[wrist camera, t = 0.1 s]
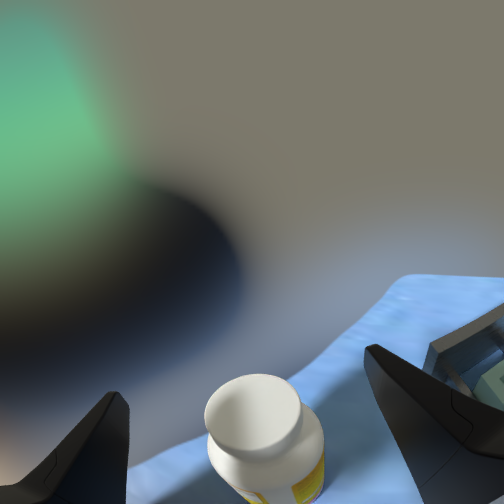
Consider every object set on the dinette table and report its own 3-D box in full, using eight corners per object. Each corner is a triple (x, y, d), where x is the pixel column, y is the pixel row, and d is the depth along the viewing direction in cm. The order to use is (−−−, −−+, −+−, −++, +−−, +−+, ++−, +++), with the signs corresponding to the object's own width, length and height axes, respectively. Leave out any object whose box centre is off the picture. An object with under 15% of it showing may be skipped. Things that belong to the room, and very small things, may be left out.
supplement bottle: (317, 444, 20) (309, 348, 14) (330, 507, 13) (339, 453, 8) (242, 456, 20) (192, 368, 15) (244, 519, 14) (177, 471, 9)
